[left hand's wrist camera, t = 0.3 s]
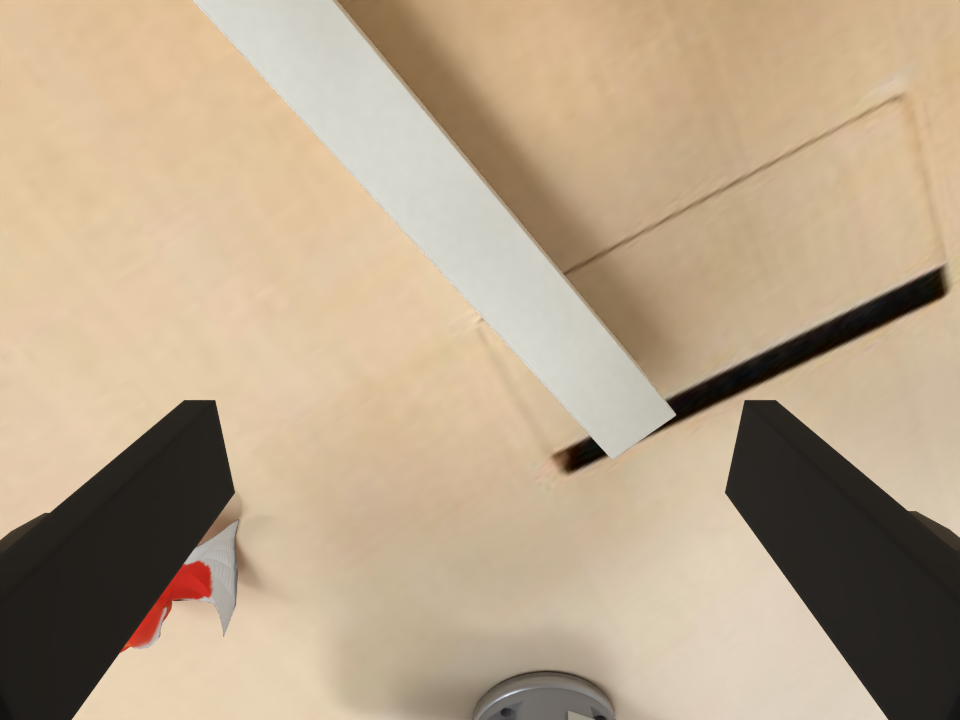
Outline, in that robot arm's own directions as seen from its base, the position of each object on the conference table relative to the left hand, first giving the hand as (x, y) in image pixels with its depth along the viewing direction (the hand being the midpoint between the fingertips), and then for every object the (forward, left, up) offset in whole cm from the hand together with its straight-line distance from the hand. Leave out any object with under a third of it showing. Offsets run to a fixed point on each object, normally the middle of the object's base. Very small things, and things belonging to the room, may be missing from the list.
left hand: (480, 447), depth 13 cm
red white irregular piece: (-30, +23, -26) cm, 46 cm away
